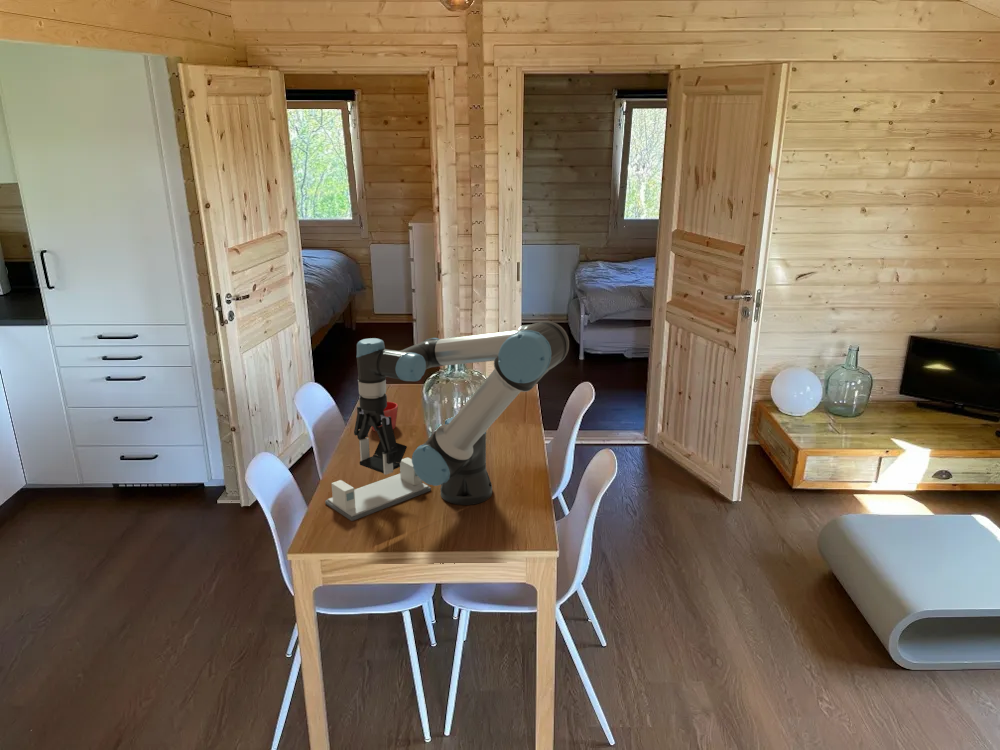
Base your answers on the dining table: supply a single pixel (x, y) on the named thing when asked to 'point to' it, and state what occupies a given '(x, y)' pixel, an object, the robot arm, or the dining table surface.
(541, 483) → the dining table surface
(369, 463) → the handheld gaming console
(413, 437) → the dining table surface
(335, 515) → the dining table surface
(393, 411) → the flower pot
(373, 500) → the board
